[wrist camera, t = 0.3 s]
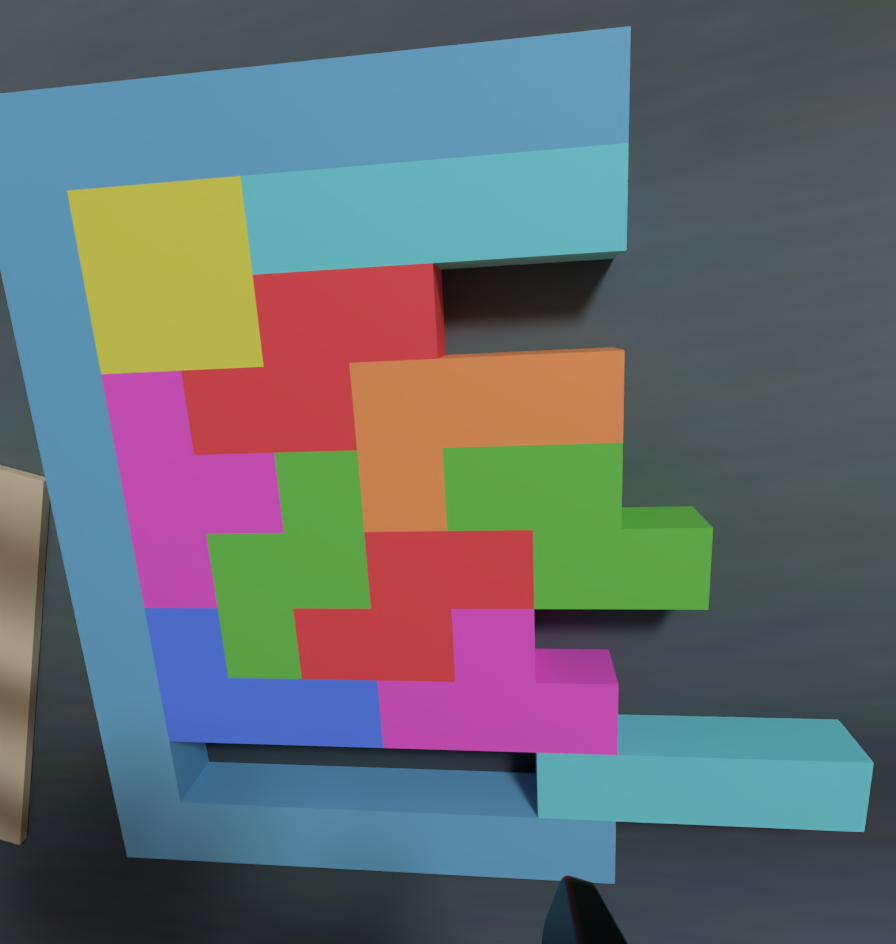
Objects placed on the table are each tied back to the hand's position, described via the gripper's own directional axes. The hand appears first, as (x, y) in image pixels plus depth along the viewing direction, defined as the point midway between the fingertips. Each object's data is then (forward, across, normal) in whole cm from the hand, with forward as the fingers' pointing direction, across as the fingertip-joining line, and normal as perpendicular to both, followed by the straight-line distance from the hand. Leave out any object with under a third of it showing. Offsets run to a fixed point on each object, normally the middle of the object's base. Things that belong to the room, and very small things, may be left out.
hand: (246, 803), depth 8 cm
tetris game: (+15, -2, 0) cm, 15 cm away
